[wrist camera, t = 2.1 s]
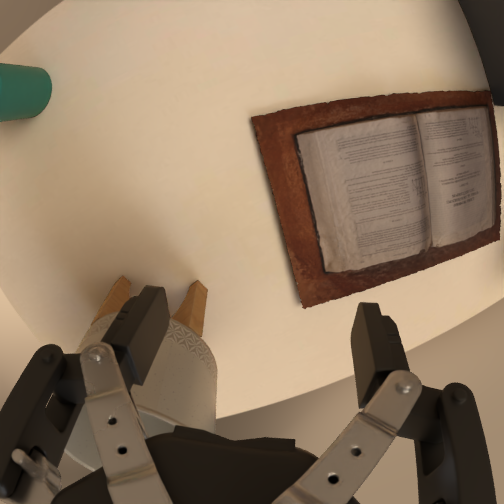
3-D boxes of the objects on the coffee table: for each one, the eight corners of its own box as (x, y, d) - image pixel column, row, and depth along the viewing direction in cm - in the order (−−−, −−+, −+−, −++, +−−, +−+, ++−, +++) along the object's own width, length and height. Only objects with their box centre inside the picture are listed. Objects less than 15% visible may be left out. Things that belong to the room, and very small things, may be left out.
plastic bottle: (6, 96, 23) (-50, 100, 15) (36, 57, 22) (-19, 49, 14) (29, 128, 25) (-27, 140, 17) (60, 89, 24) (6, 87, 16)
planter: (167, 374, 38) (146, 497, 22) (88, 310, 34) (24, 427, 18) (244, 322, 36) (252, 464, 19) (158, 241, 31) (94, 369, 15)
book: (496, 238, 33) (518, 249, 29) (300, 306, 34) (309, 329, 30) (480, 83, 26) (505, 81, 22) (249, 118, 28) (252, 114, 23)
